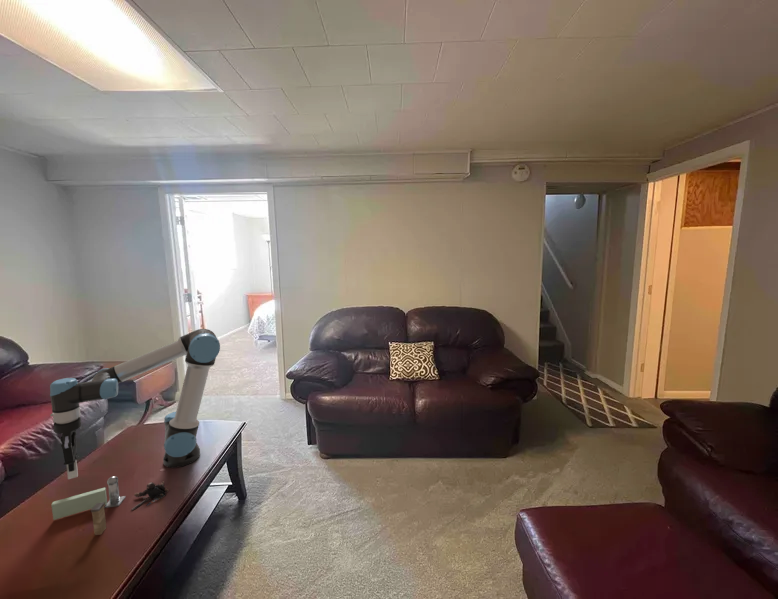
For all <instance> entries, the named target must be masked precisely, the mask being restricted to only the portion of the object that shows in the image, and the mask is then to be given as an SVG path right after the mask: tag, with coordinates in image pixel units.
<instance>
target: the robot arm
mask: <svg viewBox="0 0 778 599" xmlns="http://www.w3.org/2000/svg"><path fill="white" fill-rule="evenodd" d="M220 350H221V344H220V340H219V339H218V337H217V336H216V334H215V333H214V331H212V330H211V329H208V328H199V329H196V330H193V331H191V332H189V333H186V334H184V335H182V336H179V338H178V340H176V341H173V342H171V343H168V344H165V345H163V346H161V347H158V348H155V349H153V350H151V351H148V352H146V353H143V354H141V355H139V356H136V357H133V358H131V359H129V360H125V361H123V362H122V363H119V364H117V365H114V366H112V367H104V368H102V369H100V370H98V371H97V372H96V373H95V374H94V376H93V377H92V379H91V381H85V382H78V379H77V378H74V377H66V378H64V377H63V378H60V379H57V380H54V381H53V382H52V381H51V382H52V383H50V385H49V390H50V391H49V393H50V394H49V397H50V404H51V412H52V413H51V414H50V415H49V416H50V417H52V421H53V431H54V433H55V434H58V435H59V434H61V435H62V436H60V441H61V445H60V446H61V450H62V453H63V458H64V460H63V461H64V462H63V466H64V465H65V466H66V473H67V474H66V475H67V480H72V479H75V478H78V476H79V470H78V463H77V462H78V461H77V459H80V456H79V455H78V452H77V451H78V450H77V449H78V447H77V434H78V433H77V430H79V428H81V426H82V420H81V419H82V418H81V407H80V404H81V403H87V402H93V401H100V400H108V399H112V398H115V397H117V396H118V394H119V384H120V383H123V382H125V381H128V380H129V379H132V378H134V377H137V376H139V375H141V374H144V373H147V372H149V371H151V370H154V369H156V368H159V367H161V366H163V365H165V364H168V363H170V362H172V361H175V360H177V359H179V358H181V357H184V356H185V360H184V362H185V363H186V364H187V368H186V371H185V375H184V379H183V382H182V387H181V392H180V395H179V398H178V399H179V400H178V402H177V407H176V410H175V411H173V412H170V413H168V414H166V415H165V416H164V421H163V423H164V443H163V448H164V454H163V457H162V458H163V459H162V461H163V465H164V466H165V467H166V468H181V467H184V466H187V465H189V464H192V463H193V462H195V461H197V460H198V459H199V458H200V455H201V449H200V446H199V445H198V443H197V434H198V430H199V426H200V422H199V420H198V419H197V418H198V414H199V412H200V406H201V404H202V399H203V395H204V392H205V388H206V384H207V380H208V375H209V371H210V368H211V367H213V366H215V363H216V360H217V357H218V355H219V353H220V352H221V351H220Z"/></svg>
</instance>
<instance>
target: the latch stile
mask: <svg viewBox="0 0 778 599" xmlns="http://www.w3.org/2000/svg"><path fill="white" fill-rule="evenodd" d="M104 506H105V502H102V503H96V505H95V506H94V507H93V508H92V509H90V513H91V515H92V516H91V517H92V522H93V523H92V524H93V525H92V526H93V532H94V536H99V535H102V534H103V533H104V532H105V530H106V528H107V523H106V522H107V521H106V514H105V508H104Z"/></svg>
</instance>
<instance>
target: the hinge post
mask: <svg viewBox="0 0 778 599" xmlns="http://www.w3.org/2000/svg"><path fill="white" fill-rule="evenodd" d="M106 483H107V486H108V497H109V500H107V504H106V505H104V509H107V508H116V507H120V505H121V504H122V503H123V501H124V500H126V495H122V496H120V488H119V477H118V476H116V475H114V476H110V477H109V478H108V479H107V481H106Z"/></svg>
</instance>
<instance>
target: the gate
mask: <svg viewBox="0 0 778 599" xmlns="http://www.w3.org/2000/svg"><path fill="white" fill-rule="evenodd" d="M107 496H108V495H107V487H105V486H104V487H102V488H97V489H94V490H90V491H87V492H83V493H81V494H75V495H72V496H70V497H66V498H62V499H59V500H58V499H57V500H55V501H52V503H51V513H52V520H53V521H55V520H60V519H63V518H64V517H68V516H72V515H75V514H79V513H82V512H85V511H88V510H89V511H90V510H91V509H92V508H93V507H94V506H95V505H96V503H102V502H105V505H106V504H107V502H108V497H107ZM105 505H104V506H105Z"/></svg>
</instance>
